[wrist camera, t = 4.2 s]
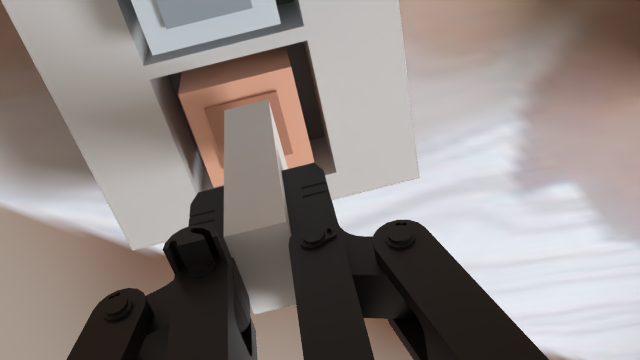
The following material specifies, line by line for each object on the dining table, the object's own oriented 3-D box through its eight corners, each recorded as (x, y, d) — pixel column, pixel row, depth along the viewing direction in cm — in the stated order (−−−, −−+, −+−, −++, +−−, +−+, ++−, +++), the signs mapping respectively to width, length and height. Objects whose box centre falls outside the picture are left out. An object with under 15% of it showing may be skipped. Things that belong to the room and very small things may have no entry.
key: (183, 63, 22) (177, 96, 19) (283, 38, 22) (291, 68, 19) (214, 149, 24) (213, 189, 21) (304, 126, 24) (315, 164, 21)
